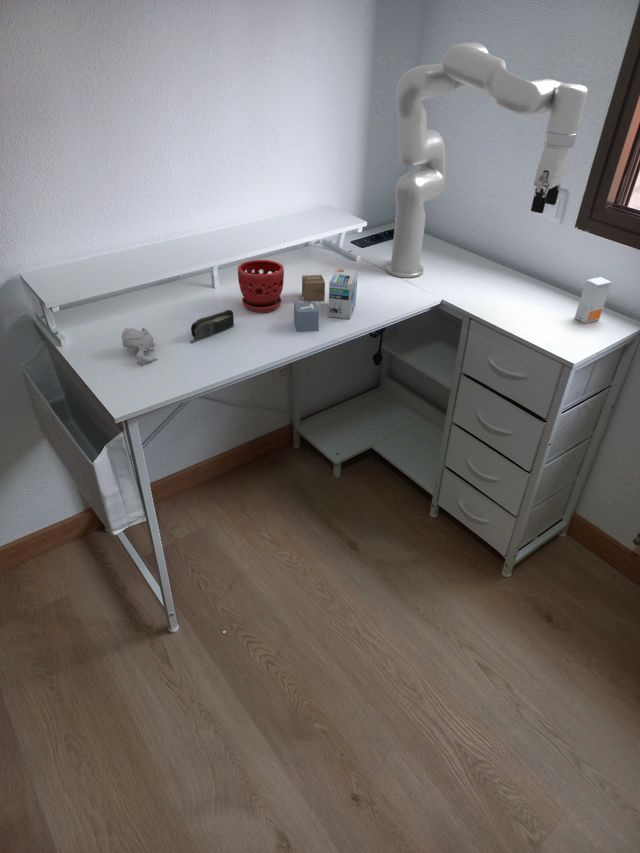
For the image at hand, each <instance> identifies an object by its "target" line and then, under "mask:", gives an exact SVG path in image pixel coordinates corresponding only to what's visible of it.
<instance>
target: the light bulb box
mask: <svg viewBox="0 0 640 853" xmlns="http://www.w3.org/2000/svg"><path fill="white" fill-rule="evenodd" d="M358 273H359V272H358V270H350V269H345V268H344V269H343V268H335V270H334V272H333V274H332V276H331V278H330V279H329V284H328V286H329V287H328V309H327V310H328V311H327V313H328V314H327V317H331V318H337V319H344V320H345V319H346V320H351V317H352V316H353V313H354V311H355V308H356V305H357V304H356V303H357V289H358V288H357V287H358Z"/></svg>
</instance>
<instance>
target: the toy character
mask: <svg viewBox="0 0 640 853" xmlns="http://www.w3.org/2000/svg"><path fill="white" fill-rule="evenodd" d="M121 341H122V346H123V348H128V349H137V350H138V351H137V353H136V356H135V359H137V362H136V364H137V366H138V365H139V366H140V365H141V366H144V365H145V366H147V363H151V362H154V361H158V358H156V357H147V356H145V352H148V351H153V350H154V348H153V347H155V346H156V345H157V343H155V342H154V338H153V336H152V334H151V333H150V332H149V330H148V329H147V328H145V327H142V328H141V330H138V329H136V328H132V327H130V328H124V330H123V332H122V334H121ZM146 362H147V363H146Z"/></svg>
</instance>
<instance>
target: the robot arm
mask: <svg viewBox="0 0 640 853" xmlns="http://www.w3.org/2000/svg"><path fill="white" fill-rule="evenodd" d="M465 86H467V87H471V88H472V89H475V90H477V91H480V92H481V93H484V94H485V95H487V96H488V98H489V99H490V100H491V101H492V102H494V103H495V104H496V105H498V106H500V107H502V108H504V109H506V110H509V111H511V112H514V113H516V114H518V115H522V116H533V115H537V114H544V113H549V116H548V122H547V126H546V131H545V135H544V139H543V143H542V144H543V145H544V147H543V150H542V153H541V155H540V158H539V162H538V166H537V169H536V173H535V177H534V180H533V186H534V187H536V188H535V190H534V194H533V200H532V204H531V208H530V211H531V212H533V213H538V214H543V213H544V211H545V206H546V204H547V205H551V206H555V205H556V204H557V201H558V196H559V192H560V189H561V184H562V182H563V180H564V176H565V174H566V169H567V164H568V160H569V156H570V152H571V149H573V148H574V147H575V143H576V139H577V136H578V132H579V128H580V123H581V121H582V117H583V113H584V109H585V105H586V101H587V98H588V93H589V92H588V88H587V87H586V86H585V85H582V84H578V83H565V82H562V81H559V80H555V79H551V78H545V79H537V80H528V79H524V78H523V77H520V76H518V75H515V74H513V73H511V72H509V71H508V70H507V64H506V61H505V60H504V59H502V58H500V57H498V56H495V55H493V54H490V53H489V51H488V49H487V48H486V46H484V45H483V44H482V43H481V42H462V43H461V42H460V43H456V44H453V45H452V46H450V47H449V48H448V49H447V50H446V51H445V54H444V55H443V59H442V63H434V64H423V65H419V66H415V67H413V68H410V69H409V70H407V71H405V73H404V74H402V76H401V77H400V79H399V81H398V83H397V85H396V89H395V105H396V113H397V132H398V133H397V135H398V136H397V137H398V155H399V160H400V163H401V164H402V165H403V166H404V167H407V168H415V167H418V169H417V170H413V171H409V172H406V173H405V174H403V175H402V176H400V177H399V179H398V180H397V181H396V184H395V190H394V193H395V195H394V196H395V220H394V230H393V231H394V232H393V238H392V239H393V241H392V250H391V260H390V262H388V263H387V264H386V265H385V271H386V272H387V273H388V274H390V275H392V276H395V277H398V278H408V279H409V278H417V277H420V276H422V275H423V274H424V269H425V268H424V267H423V266H422V265H421V264H420V263H421V256H422V248H423V242H424V241H423V240H424V235H425V225H426V210H425V207H424V206H425V205H424V202H427V201H430V200H433V199H435V198H437V197H440V195H441V194H443V193H442V192H443V190H444V188H445V183H446V147H445V142H444V139H443V137H442V135H441V134H440V133H439V132H438V131H436V130H435V129H429V128H428V126H427V124H428V116H427V112H426V108H425V106H424V104H423V101H425V100H429V99H436V98H442V97H445V96H449V95H450V94H453V93H454V92H456V91H458V90H459V89H461V88H463V87H465Z"/></svg>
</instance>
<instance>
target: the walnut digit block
mask: <svg viewBox="0 0 640 853" xmlns="http://www.w3.org/2000/svg"><path fill="white" fill-rule="evenodd" d="M302 294H303V296H302V298H303V297H304V299H303V301H304V302H305V301H318V302H325V296H326V282H325V279H324V277H323V275H322V274H309V275H308V274H307V275H306V274H305V275H304V274H303V275H301V295H302Z"/></svg>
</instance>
